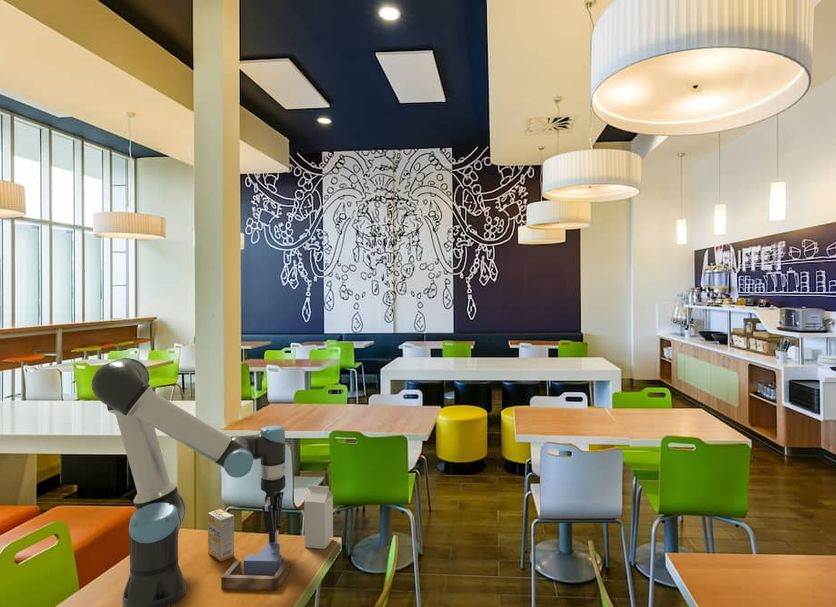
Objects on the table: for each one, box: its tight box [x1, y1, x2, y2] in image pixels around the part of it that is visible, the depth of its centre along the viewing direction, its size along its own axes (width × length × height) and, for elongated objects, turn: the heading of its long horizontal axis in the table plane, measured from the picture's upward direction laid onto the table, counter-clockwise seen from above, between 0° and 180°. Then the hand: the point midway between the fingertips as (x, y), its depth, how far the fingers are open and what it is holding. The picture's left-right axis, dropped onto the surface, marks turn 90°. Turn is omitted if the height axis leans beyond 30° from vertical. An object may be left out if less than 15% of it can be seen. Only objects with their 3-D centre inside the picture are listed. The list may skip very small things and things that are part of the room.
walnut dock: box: [220, 560, 290, 591], centre depth 147 cm, size 16×10×3 cm, turn 85°
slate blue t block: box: [243, 542, 283, 576], centre depth 155 cm, size 11×10×4 cm
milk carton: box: [303, 484, 334, 550], centre depth 169 cm, size 7×7×19 cm
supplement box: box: [207, 508, 235, 562], centre depth 162 cm, size 8×5×13 cm, turn 49°
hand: (273, 551), depth 161 cm, fingers closed
